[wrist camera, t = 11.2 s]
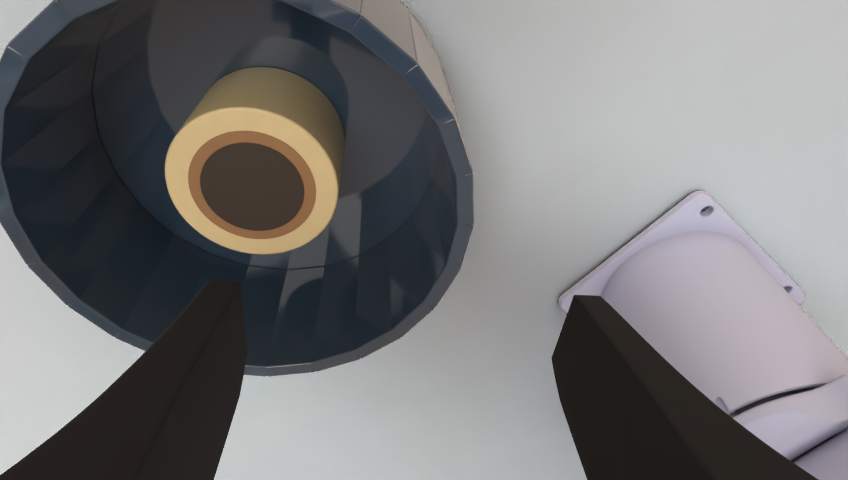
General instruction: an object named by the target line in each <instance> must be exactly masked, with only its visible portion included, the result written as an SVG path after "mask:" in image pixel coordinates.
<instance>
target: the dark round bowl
mask: <svg viewBox="0 0 848 480" xmlns="http://www.w3.org/2000/svg"><path fill="white" fill-rule="evenodd" d="M252 67H269V68H276V69H281V70H285V71H288V72H291V73H293V74H296V75H298V76H300V77H302V78H304V79H305V80H307V81H308V82H310V83H311V84H313V85H314V86H315V87H317V88H318V89H319V90H320V91H321V92H322V93H323V94H324V95H325V96H326V97H327V98H328V99H329V101H330V102H331V104H332V105H333V106H334V108H335V110H336V112H337V113H338V115H339V118H340V120H341V123H342V127H343V131H344V139H345V146H344V156H343V164H342V172H341V181H340V189H339V197H338V202H337V207H336V210H335V212H334V215H333V217H332V219H331V220H330V222H329V224H328V225H327V226H326V227H325V229H324V230H323V231H322V232H321V233H320V234H319V235H318V236H317V237H315V238H314V239H313V240H311V241H310V242H308V243H307V244H305V245H303V246H301V247H299V248H296V249H293V250H291V251H287V252H283V253H276V254H250V253H244V252H239V251H235V250H232V249H229V248H226V247H224V246H221V245H219V244H217V243H215V242H213V241H211V240H209V239H208V238H206V237H205V236H203V235H202V234H200V233H199V232H198V231H196V230H195V229H194V228H193V227H192V226H191V225H190V224H189V223H188V222H187V221H186V220H185V219H184V218H183V217H182V215H181V214H180V213H179V211H178V210H177V208H176V207H175V205H174V203H173V201H172V199H171V197H170V195H169V191H168V188H167V185H166V179H165V161H166V155H167V152H168V149H169V146H170V144H171V142H172V141H173V139H174V137H175V136H176V134H177V133H178V131H179V130H180V129H181V127H182V126H183V124H184V123H185V122H186V120H187V119H188V117H189V116H190V115H191V113H192V112H193V110H194V109H195V108H196V106H197V105H198V104H199V102H200V101H201V99H202V98H203V97H204V95H205V94H206V93H207V91H208V90H209V89H210V88H211V86H213V85H214V84H215V83H216V82H217V81H218V80H220V79H221V78H223V77H224V76H226V75H228V74H230V73H232V72H235V71H238V70H241V69H245V68H252ZM0 223H1V225H2V226H3V228H4V230H5V231H6V233H7V234H8V236H9V238H10V239H11V241H12V242H13V244H14V246H15V247H16V249H17V250H18V252H19V254H20V255H21V257H22V258H23V260H24V262H25V263H26V264H28V267H29V268H30V269H31V270H32V271H33V272H34V273H35V274H36V275H37V276H38V277H39V278H40V279H41V280H42V281H43V282H44V283H45V284H46V285H47V286H48V287H49V288H50V289H51V290H52V291H53V292H54V293H55V294H56V295H57V296H58V297H59V298H60V299H61V300H62V301H63V302H64V303H65V304H66V305H68V306H69V307H70V308H71V309H73V310H74V311H76V312H77V313H79V314H80V315H82V316H83V317H85V318H86V319H88V320H89V321H91V322H92V323H94V324H95V325H97V326H98V327H100V328H101V329H103V330H104V331H106V332H107V333H109V334H110V335H112V336H113V337H115V338H117V339H119V340H121V341H123V342H126V343H128V344H130V345H133V346H135V347H137V348H139V349H142V350H144V351H146V350H147V349H148V348H149V347H150V346H151V345H152V344H153V343H154V342H155V341H156V340H157V339H158V338H159V337H160V336H161V334H162V333H163V332H164V331H165V330H166V329H167V328H168V327H169V326H170V325H171V324H172V322H173V321H174V320H175V319H176V318H177V317H178V316H179V315H180V313H181V312H182V311H183V310H184V309H185V308H186V306H187V305H188V304H189V303H190V302H191V301H192V299H193V298H194V297H195V296H196V295H197V293H198V292H199V291H200V290H201V289H202V287H203V286H204V285H205V284H206V283H208V282H209V281H226V282H240V286H241V295H242V304H243V313H244V322H245V332H246V341H247V350H248V352H247V358H246V363H245V369H244V375H255V376H277V375H288V374H299V373H309V372H315V371H321V370H324V369H328V368H331V367H335V366H338V365H341V364H345V363H348V362H352V361H355V360H359V359H360V358H364V357H365V356H367V355H369V354H371V353H373V352H375V351H377V350H379V349H381V348H382V347H384V346H386V345H388V344H390V343H392V342H394V341H396V340H398V339H399V338H400V337H402V336H404V335H405V334H406V333H407V332H408V331H409V330H410V329H411V328H413V327H414V326H415V325H416V324H417V323H418V322H419V321H421V320H422V319H423V318H424V317H425V316H426V315H427V314H429V313H430V312H431V311H432V310H433V309H434V307H436V305H437V304H438V302H439V301H440V299H441V298H442V296H443V295H444V293H445V292H446V290H447V289H448V287H449V286H450V284H451V283H452V281H453V280H454V278H455V277H456V275H457V274H458V272H459V269H460V268H461V265H462V262H463V258H464V255H465V251H466V248H467V245H468V241H469V238H470V235H471V231H472V228H473V223H474V212H473V173H472V168H471V164H470V160H469V157H468V153H467V150H466V146H465V143H464V139H463V136H462V132H461V129H460V125H459V122H458V118H457V115H456V111H455V107H454V104H453V100H452V97H451V94H450V91H449V88H448V85H447V82H446V79H445V75H444V72H443V69H442V66H441V63H440V60H439V57H438V55H437V53H436V51H435V49H434V48H433V46H432V44H431V42H430V41H429V39H428V37H427V35H426V33H425V32H424V30H423V28H422V27H421V25H420V24H419V23H418V21H417V20H416V19H415V17H414V16H413V15H412V13H411V12H410V11H409V9H408V8H407V7H406V6H405V5H404V4H403V3H402V2H401V1H400V0H53V1H52V2H51V3H50V4H49V5H48V6H47V7H46V8H45V9H44V10H43V11H42V12H41V13H39V14H38V15H37V16H36V17H35V18H34V19H33V20H32V21H31V22H30V23H29V24H28V25H27V26H26V27H25V28H24V29H23V30H21V31H20V32H19V33H18V34H17V35H16V36H15V37H14V38H13V39H12V40H11V41H10V42H9V44H8V45H7V46H6V48H5V50H4V53H3V55H2V57H1V59H0Z"/></svg>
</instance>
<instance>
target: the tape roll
mask: <svg viewBox="0 0 848 480" xmlns="http://www.w3.org/2000/svg"><path fill="white" fill-rule="evenodd" d="M344 146H345V139H344V131H343V127H342V123H341V120H340V118H339V115H338V113H337V112H336V110H335V108H334V106H333V105H332V104H331V102H330V101H329V99H328V98H327V97H326V96H325V95H324V94H323V93H322V92H321V91H320V90H319V89H318V88H317V87H315V86H314V85H313V84H311V83H310V82H308V81H307V80H305V79H304V78H302V77H300V76H298V75H296V74H293V73H291V72H288V71H285V70H281V69H276V68H269V67H252V68H245V69H241V70H238V71H235V72H232V73H230V74H228V75H226V76H224V77H223V78H221V79H220V80H218V81H217V82H216V83H215V84H214V85H213V86H211V88H210V89H209V90H208V91H207V93H206V94H205V95H204V97H203V98H202V99H201V101H200V102H199V104H198V105H197V106H196V108H195V109H194V110H193V112H192V113H191V115H190V116H189V117H188V119H187V120H186V122H185V123H184V124H183V126H182V127H181V129H180V130H179V131H178V133H177V134H176V136H175V137H174V139H173V141H172V142H171V144H170V146H169V149H168V152H167V155H166V161H165V179H166V185H167V188H168V191H169V195H170V197H171V199H172V201H173V203H174V205H175V207H176V208H177V210H178V211H179V213H180V214H181V215H182V217H183V218H184V219H185V220H186V221H187V222H188V223H189V224H190V225H191V226H192V227H193V228H194V229H195V230H196V231H198V232H199V233H200V234H202V235H203V236H205V237H206V238H208V239H209V240H211V241H213V242H215V243H217V244H219V245H221V246H224V247H226V248H229V249H232V250H235V251H239V252H244V253H250V254H276V253H283V252H287V251H291V250H293V249H296V248H299V247H301V246H303V245H305V244H307V243H308V242H310V241H311V240H313V239H314V238H315V237H317V236H318V235H319V234H320V233H321V232H322V231H323V230H324V229H325V227H326V226H327V225H328V224H329V222H330V220H331V219H332V217H333V215H334V212H335V210H336V207H337V202H338V197H339V189H340V181H341V172H342V164H343V156H344Z"/></svg>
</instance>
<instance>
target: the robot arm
mask: <svg viewBox="0 0 848 480" xmlns="http://www.w3.org/2000/svg"><path fill="white" fill-rule="evenodd" d="M706 206H708V208H707V209H706V210H704V211H702V212H701V210H702V209H703V208H705V207H706ZM805 299H806V294H805V293H804V292H803V291H802V290H801V289H800V288H799V287H798V285H797V284H796V283H795V282H794V281H793V280H792V279H791V278H790V277H789V276H788V275H787V274H786V273H785V272H784V271H783V270H782V269H781V268H780V267H779V266H778V265H777V264H776V263H775V262H774V261H773V260H772V259H771V258H770V257H769V256H768V255H767V254H766V253H765V252H764V251H763V250H762V249H761V248H760V247H759V246H758V245H757V244H756V243H755V242H754V240H753V239H752V238H751V237H750V236H749V235H748V234H747V233H746V232H745V231H744V230H743V229H742V228H741V227H740V226H739V225H738V224H737V223H736V222H735V221H734V220H733V219H732V218H731V217H730V216H729V215H728V214H727V213H726V212H725V211H724V210H723V209H722V208H721V207H720V206H719V205H718V204H717V203H716V202H715V201H714V200H713V199H712V198H711V196H710V195H709V194H708V193H706V192H705V191H700V190H699V191H695V192H693V193H691V194H690V195H688V196H687V197H686V198H684V199H683V200H682V201H681V202H679V203H678V204H677V205H676V206H674V207H673V208H672V209H670V210H669V211H668V212H667V213H665V214H664V215H663V216H662V217H660V218H659V219H658V220H656V221H655V222H654V223H653V224H651V225H650V226H649V227H648V228H646V229H645V230H644V231H642V232H641V233H640V234H639V235H637V236H636V237H635V238H634V239H632V240H631V241H630V242H628V243H627V244H626V245H625V246H623V247H622V248H621V249H620V250H618V251H617V252H616V253H614V254H613V255H612V256H611V257H609V258H608V259H607V260H606V261H604V262H603V263H602V264H600V265H599V266H598V267H597V268H595V269H594V270H593V271H592V272H590V273H589V274H588V275H586V276H585V277H584V278H583V279H581V280H580V281H579V282H578V283H576V284H575V285H574V286H572V287H571V288H570V289H569V290H567V291H566V292H565V293H563V294H562V295H561V296H560V297H559V300H558V302H559V306H560V308H561V309H562V310H563V311H564V312H566V313H567V316H566V319H565V322H564V324H563V327H562V330H561V333H560V336H559V339H558V341H557V344H556V347H555V350H554V353H553V356H552V363H553V368H554V374H555V379H556V384H557V388H558V393H559V398H560V401H561V405H562V408H563V411H564V414H565V417H566V419H567V422H568V425H569V428H570V431H571V434H572V437H573V440H574V443H575V446H576V448H577V451H578V454H579V457H580V460H581V463H582V466H583V468H584V471H585V474H586V477H587V480H848V358H847V357H846V356H845V355H844V354H843V353H842V352H841V351H840V349H839V348H838V347H837V346H836V345H835V344H834V343H833V342H832V341H831V340H830V339H829V337H828V336H827V335H826V334H825V333H824V332H823V331H822V330H821V329H820V328H819V327H818V325H817V324H816V323H815V322H814V321H813V320H812V319H811V318H810V317H809V316H808V314H807V313H806V312H805V311H804V310H803V309H802V308H801V307H800V306H799V305H800V304H801V303H803V302H804V300H805ZM247 352H248V350H247V341H246V332H245V322H244V313H243V304H242V295H241V286H240V282H226V281H209V282H208V283H206V284H205V285H204V286H203V287H202V289H201V290H200V291H199V292H198V293H197V295H196V296H195V297H194V298H193V299H192V301H191V302H190V303H189V304H188V305H187V306H186V308H185V309H184V310H183V311H182V312H181V313H180V315H179V316H178V317H177V318H176V319H175V320H174V321H173V322H172V324H171V325H170V326H169V327H168V328H167V329H166V330H165V331H164V332H163V333H162V334H161V336H160V337H159V338H158V339H157V340H156V341H155V342H154V343H153V344H152V345H151V346H150V347H149V348H148V349H147V350H146V352H145V353H144V354H143V355H142V356H141V357H140V358H139V359H138V360H137V361H136V362H135V363H134V364H133V365H132V366H131V367H130V368H129V369H128V370H126V371H125V372H124V373H123V374H122V375H121V376H120V377H119V378H118V379H117V380H116V381H115V382H114V383H113V384H112V385H111V386H110V387H109V388H108V389H107V390H106V391H105V392H103V393H102V394H101V395H100V396H99V397H98V398H97V399H96V400H95V401H93V402H92V403H91V404H90V405H89V406H88V407H87V408H86V409H84V410H83V411H82V412H81V413H80V414H79V415H77V416H76V417H75V418H74V419H73V420H71V421H70V422H69V423H68V424H67V425H65V426H64V427H63V428H62V429H61V430H59V431H58V432H57V433H56V434H54V435H53V436H52V437H50V438H49V439H48V440H47V441H45V442H44V443H43V444H41V445H40V446H39V447H37V448H36V449H35V450H34V451H32V452H31V453H30V454H28V455H27V456H26V457H24V458H23V459H22V460H21V461H19V462H18V463H17V464H15V465H14V466H12V467H11V468H10V469H8V470H7V471H6V472H4V473H3V474H1V475H0V480H214V477H215V473H216V470H217V467H218V464H219V461H220V457H221V454H222V451H223V448H224V445H225V442H226V438H227V435H228V432H229V429H230V425H231V422H232V419H233V416H234V412H235V409H236V406H237V402H238V399H239V396H240V391H241V385H242V380H243V375H244V369H245V363H246V358H247Z"/></svg>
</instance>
